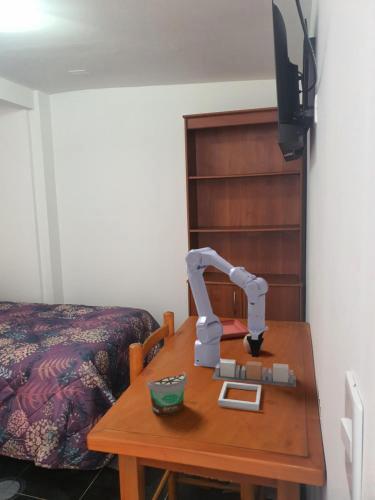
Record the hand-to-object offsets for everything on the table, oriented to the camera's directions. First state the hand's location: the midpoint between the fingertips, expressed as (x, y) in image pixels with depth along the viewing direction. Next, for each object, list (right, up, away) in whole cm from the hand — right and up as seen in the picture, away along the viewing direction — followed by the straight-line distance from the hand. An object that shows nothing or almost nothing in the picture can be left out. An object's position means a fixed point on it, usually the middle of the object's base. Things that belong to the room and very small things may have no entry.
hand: (256, 352), depth 130 cm
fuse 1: (-9, -9, +3) cm, 13 cm away
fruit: (+3, -7, +23) cm, 25 cm away
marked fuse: (-1, -9, +1) cm, 9 cm away
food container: (-28, -13, -19) cm, 36 cm away
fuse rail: (-1, -9, +1) cm, 9 cm away
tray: (-7, -11, -12) cm, 18 cm away
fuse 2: (+8, -9, -2) cm, 12 cm away
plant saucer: (-6, -4, +47) cm, 48 cm away
